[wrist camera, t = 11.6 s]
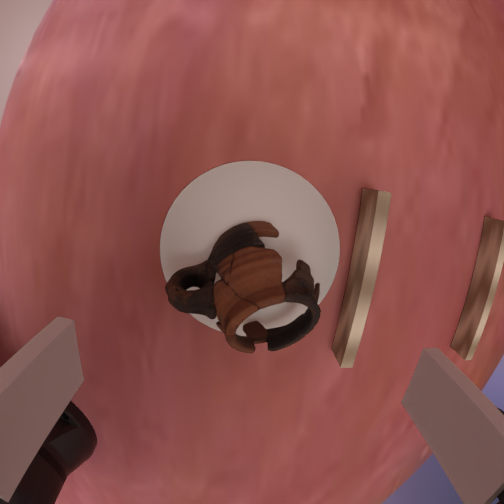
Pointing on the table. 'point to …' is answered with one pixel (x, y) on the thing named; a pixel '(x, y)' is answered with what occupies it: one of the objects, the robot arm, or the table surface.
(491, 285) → the pair of beige bars
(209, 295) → the pottery mug
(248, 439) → the table surface
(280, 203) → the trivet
